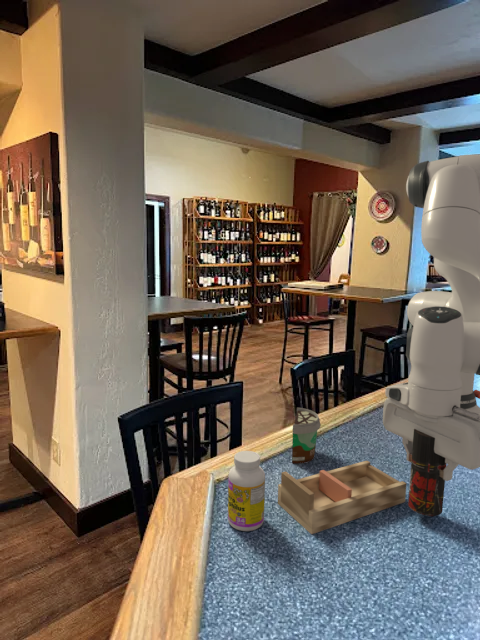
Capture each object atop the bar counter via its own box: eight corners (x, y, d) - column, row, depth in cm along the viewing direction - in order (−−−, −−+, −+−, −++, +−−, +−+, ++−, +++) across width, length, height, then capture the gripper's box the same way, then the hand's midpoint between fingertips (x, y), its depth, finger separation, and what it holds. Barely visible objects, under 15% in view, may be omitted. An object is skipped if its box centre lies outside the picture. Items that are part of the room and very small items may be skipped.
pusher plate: (322, 488, 94) (323, 469, 93) (350, 508, 86) (351, 489, 86) (318, 489, 93) (319, 470, 93) (346, 510, 86) (347, 490, 85)
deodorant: (402, 499, 89) (408, 425, 86) (432, 497, 89) (438, 424, 87) (417, 517, 83) (423, 438, 80) (448, 515, 83) (455, 437, 81)
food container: (318, 469, 105) (320, 427, 103) (291, 466, 106) (292, 425, 104) (320, 446, 117) (321, 408, 115) (295, 444, 118) (297, 406, 116)
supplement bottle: (220, 519, 85) (221, 453, 83) (249, 507, 89) (250, 445, 87) (242, 537, 80) (243, 468, 78) (271, 524, 84) (273, 458, 81)
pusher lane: (366, 477, 101) (367, 447, 100) (405, 501, 92) (407, 469, 90) (277, 503, 90) (278, 470, 89) (311, 534, 81) (313, 497, 80)
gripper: (500, 414, 75) (492, 492, 77) (402, 380, 93) (398, 445, 95) (475, 421, 72) (468, 502, 74) (378, 385, 90) (375, 451, 92)
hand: (428, 469), depth 85 cm, fingers closed on deodorant, 6 cm apart
